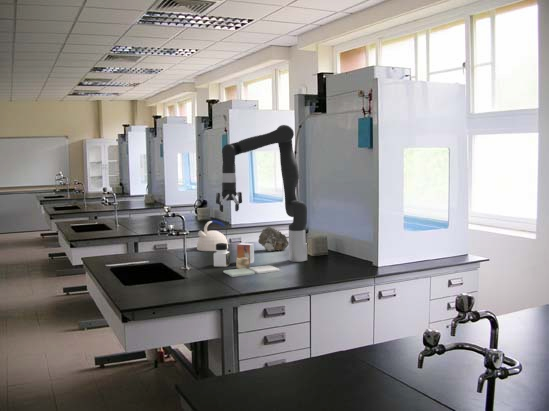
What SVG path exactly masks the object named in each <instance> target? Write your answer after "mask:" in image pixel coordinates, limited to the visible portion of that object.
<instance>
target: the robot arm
mask: <svg viewBox="0 0 549 411" xmlns="http://www.w3.org/2000/svg"><path fill="white" fill-rule="evenodd" d="M294 136H295V133H294V130H293V128H292V127H291V126H289V125H287V124H281V125H279V126H278V127H277V128H276V129H274V130H272V131H270V132H267V133H264V134H260V135H259V134H258V135H254V136H251V137H247V138H244V139H241V140H239V141H236V142H232V143H227V144H225V145H223V147H222V150H221V152H222V153H221V156H222V166H221V167H222V170H221V171H222V172H221V174H222V175H221V192H216V193H215V194H216V195H215V196H216V197H215V204H216V205H219V212H220V213H224V203H225V202H226V201H232V202H234V203H235V205H234V211H235V212H238V211H239V209H240V204H242V203H243V192H242V191H238V192H237V176H236V156H238V155H241V154H246V153H248V152H253V151H255V150H257V149H261V148H264V147H267V146H271V145H275V144H277V146H278V150H279V160H280V163H279V164H280V171H281V178H282V183H283V184H282V185H283V190H284V206H285V212H286V215H287V216H288V217H290V218H292V222H291V223H290V224H288V243H289V244H288V260H289V262H292V263H293V262H294V263H296V262H297V263H302V262H305V261H308V243H307V242H306V226H307V223H308V220H307V219H308V208H307V204H306V203H305V202H304V201H302V200H301V201H300V200H297V199H298V198H297V192H296V191H297V186H298V183H299V178H300V175H299V167H298V162H297V159H296V156H295V153H294V149H293V148H294V147H293V138H294ZM221 197H222V198H221ZM236 197H237V198H238V199H237V198H236Z"/></svg>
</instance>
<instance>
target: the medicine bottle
mask: <svg viewBox="0 0 549 411" xmlns="http://www.w3.org/2000/svg"><path fill="white" fill-rule="evenodd" d="M230 253H231V251H228V249H227V244H226V243H218V244H216V251H214V253H213V267H221V268H222V267H225V268H226V267H228V266H229V265H230V264H231V254H230Z"/></svg>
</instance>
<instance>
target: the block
mask: <svg viewBox="0 0 549 411" xmlns="http://www.w3.org/2000/svg"><path fill="white" fill-rule="evenodd" d="M235 261H236V262H235V263H236V264H235V265H236V267H235V269H241V268H246V269H249V268H250V264H249V259H248V258H245V257H244V258H237V257H236V260H235Z"/></svg>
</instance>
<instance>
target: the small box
mask: <svg viewBox="0 0 549 411" xmlns="http://www.w3.org/2000/svg"><path fill="white" fill-rule="evenodd" d="M244 257H245V258H248V259H249V265H251V264H253V263H255V243H247V242H246V243H244V242H241V243H237V244H236V258H244Z"/></svg>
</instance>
